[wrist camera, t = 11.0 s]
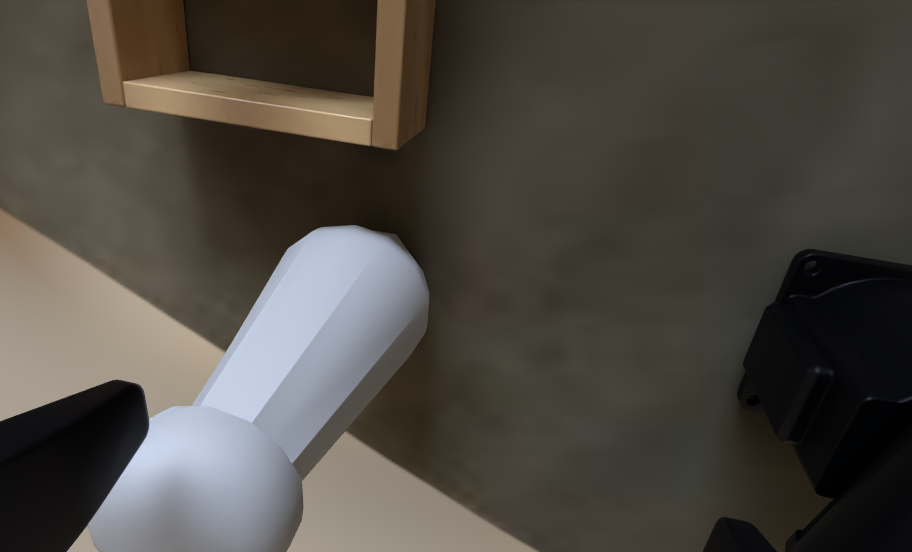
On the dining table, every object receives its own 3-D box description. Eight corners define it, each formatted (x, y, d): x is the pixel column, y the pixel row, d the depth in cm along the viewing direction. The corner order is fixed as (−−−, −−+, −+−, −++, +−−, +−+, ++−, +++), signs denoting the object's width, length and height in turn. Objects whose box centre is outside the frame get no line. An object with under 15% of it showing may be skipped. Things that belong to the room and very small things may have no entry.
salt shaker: (323, 337, 24) (94, 638, 13) (287, 212, 22) (-33, 442, 10) (454, 333, 23) (328, 667, 11) (430, 199, 20) (242, 448, 9)
